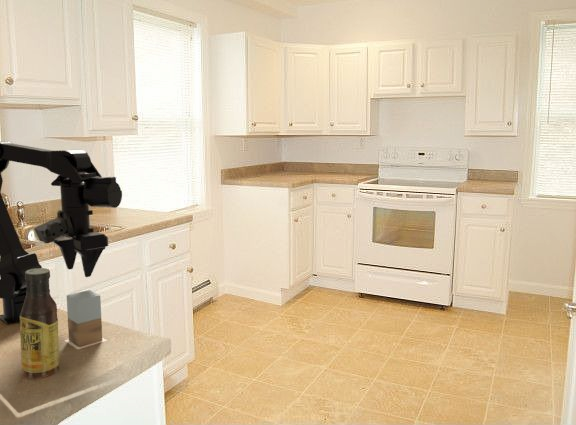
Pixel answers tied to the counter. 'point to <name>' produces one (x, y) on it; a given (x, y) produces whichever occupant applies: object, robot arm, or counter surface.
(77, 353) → the counter surface
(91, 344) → the pad
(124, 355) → the counter surface
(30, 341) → the sauce bottle
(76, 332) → the walnut block
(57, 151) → the robot arm
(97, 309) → the bluegrey block
